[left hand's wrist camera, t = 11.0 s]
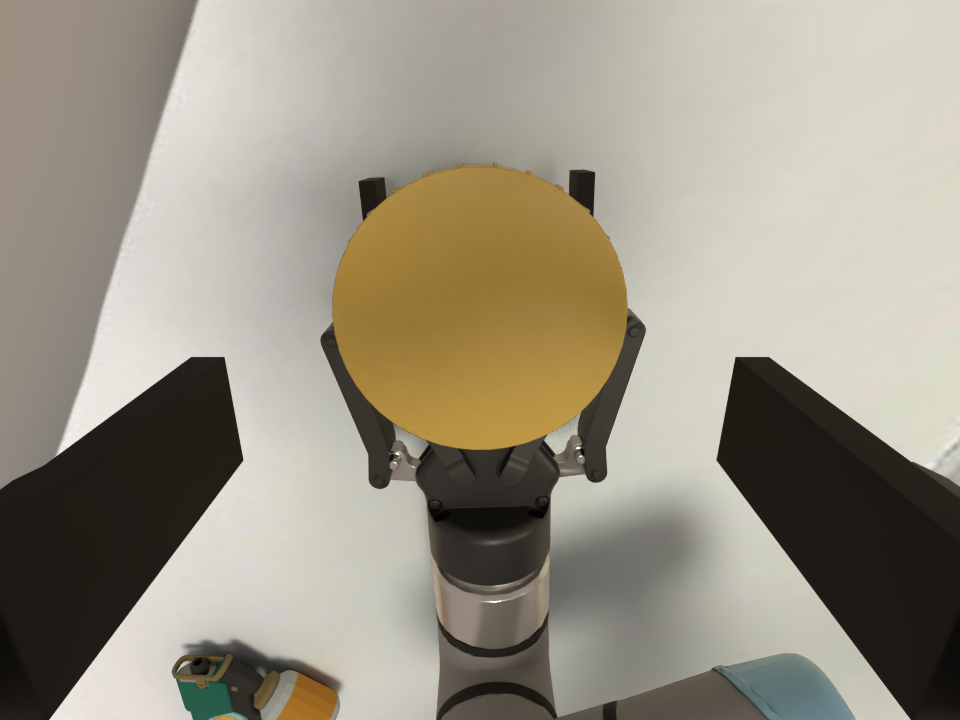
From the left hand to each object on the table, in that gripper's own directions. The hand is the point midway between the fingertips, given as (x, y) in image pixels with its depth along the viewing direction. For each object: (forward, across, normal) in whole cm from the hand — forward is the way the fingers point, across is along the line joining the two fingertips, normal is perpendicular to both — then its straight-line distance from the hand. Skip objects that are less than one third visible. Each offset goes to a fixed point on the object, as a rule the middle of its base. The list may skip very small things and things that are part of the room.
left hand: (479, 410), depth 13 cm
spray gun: (+22, +19, +41) cm, 51 cm away
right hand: (+16, 0, -4) cm, 17 cm away
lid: (+7, 0, 0) cm, 7 cm away
